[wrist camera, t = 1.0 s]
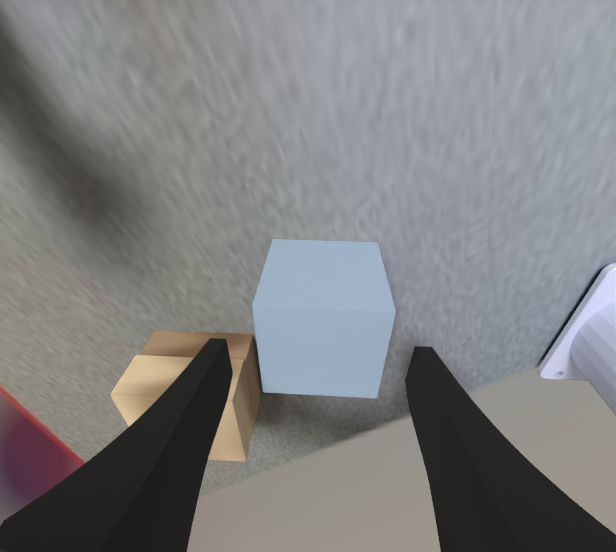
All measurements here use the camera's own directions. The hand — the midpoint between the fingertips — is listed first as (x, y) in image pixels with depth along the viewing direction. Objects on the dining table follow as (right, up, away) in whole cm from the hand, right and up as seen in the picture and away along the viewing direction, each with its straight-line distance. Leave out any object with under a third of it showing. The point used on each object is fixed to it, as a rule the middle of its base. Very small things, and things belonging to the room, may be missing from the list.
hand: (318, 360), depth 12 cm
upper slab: (-7, -4, +7) cm, 10 cm away
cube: (0, +3, +4) cm, 5 cm away
